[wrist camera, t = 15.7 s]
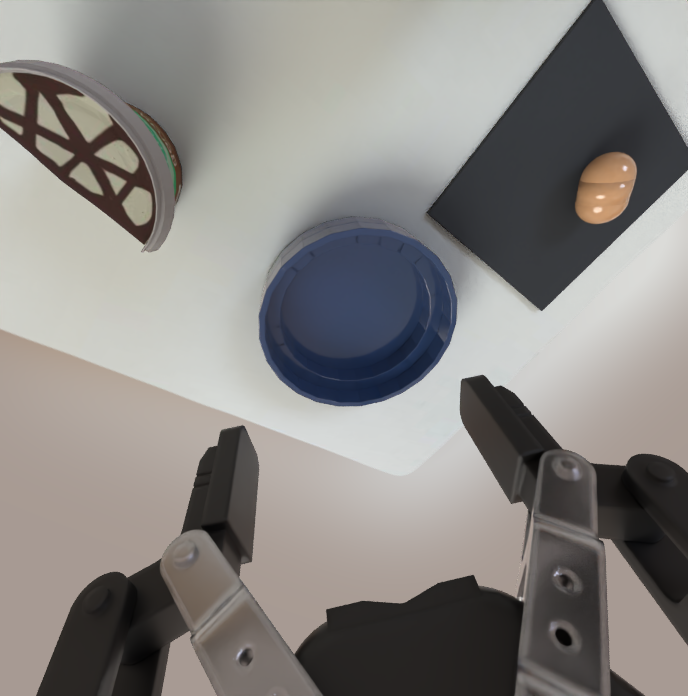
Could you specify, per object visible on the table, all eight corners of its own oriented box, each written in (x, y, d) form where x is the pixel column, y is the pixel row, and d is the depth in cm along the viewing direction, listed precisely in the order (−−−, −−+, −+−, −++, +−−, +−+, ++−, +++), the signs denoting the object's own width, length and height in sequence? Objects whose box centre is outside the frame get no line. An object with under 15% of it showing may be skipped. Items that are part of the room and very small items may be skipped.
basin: (236, 237, 34) (230, 253, 30) (438, 198, 35) (460, 208, 30) (286, 394, 45) (286, 422, 41) (439, 362, 46) (454, 386, 41)
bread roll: (594, 158, 31) (653, 151, 30) (578, 152, 34) (631, 146, 33) (577, 231, 34) (630, 227, 33) (565, 219, 38) (612, 215, 37)
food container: (228, 176, 31) (207, 195, 23) (184, 224, 33) (149, 258, 24) (91, 32, 25) (-7, -16, 17) (44, 99, 27) (-67, 87, 18)
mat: (426, 212, 35) (428, 213, 35) (594, -4, 28) (599, -6, 27) (539, 309, 43) (542, 311, 43) (691, 161, 36) (696, 162, 36)
